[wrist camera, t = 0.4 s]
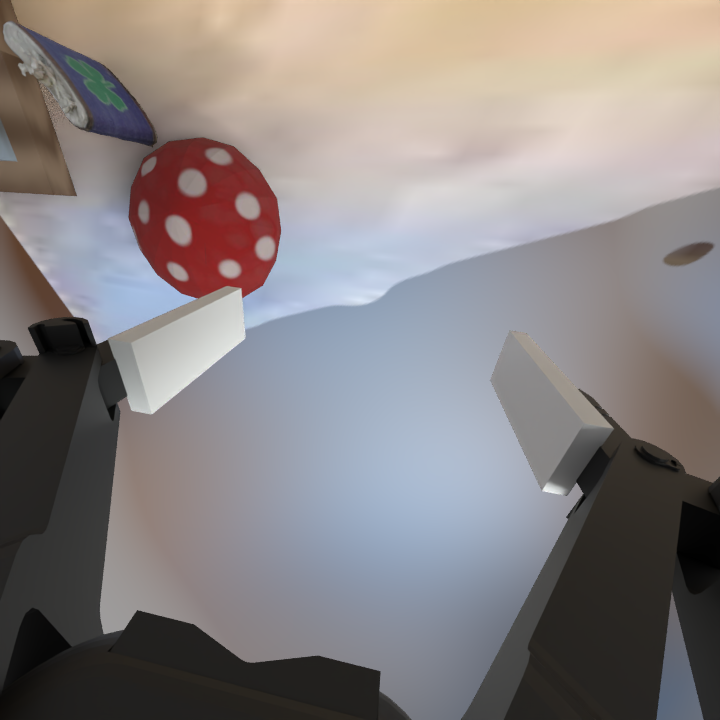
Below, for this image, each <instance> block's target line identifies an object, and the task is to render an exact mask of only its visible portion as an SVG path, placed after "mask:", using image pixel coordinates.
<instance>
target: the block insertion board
mask: <svg viewBox="0 0 720 720" xmlns="http://www.w3.org/2000/svg"><path fill="white" fill-rule="evenodd" d="M8 21H14V22H15V23H18V21H17V18H16V15H15V12H14V9H13V6H12V4H11V1H10V0H0V192H16V193H32V194H48V195H67V196H77V195H76V192H75V189H74V186H73V183H72V180H71V177H70V174H69V171H68V169H67V166H66V163H65V160H64V157H63V154H62V151H61V148H60V145H59V142H58V139H57V136H56V133H55V130H54V127H53V124H52V121H51V118H50V115H49V113H48V110H47V107H46V104H45V101H44V98H43V95H42V92H41V89H40V86H39V83H38V80H37V78H36V77H35V76H34V75H30V73H29V72H26V76H24V75H22V72H21V69H20V68H19V66H18V64H19V63H21V64H23V63H24V62H23V61H22V60H21V59H20V58H19V57H18V56H17V55H16V54H15V53H14V52H13V51H12V50H11V49H10V47H9V46H8V45H7V43H6V42H5V40H4V34H3V25H4V24H5V23H6V22H8Z"/></svg>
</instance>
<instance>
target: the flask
mask: <svg viewBox="0 0 720 720" xmlns="http://www.w3.org/2000/svg"><path fill="white" fill-rule="evenodd" d="M3 34H4V40H5V42H6V43H7V45H8V46H9V47H10V49H11V50H12V51H13V52H14V53H15V54H16V55H17V56H18V57H19V58H20V59H21V60H22V61H23V62H24V63H23V64H21V63H19V64H18V66H19V68H20V69H21V72H22V75H24V76H26V72H29V73H30V75H34V76H35V77H36V78H37V80H39V81H40V82H41V83H42V84H44V86H45V87H46V88H47V89H48V90H49V91H50V93H51V94H52V95H53V97H54V98H55V99H56V101H57V102H58V103H59V105H60V107H61V109H62V111H63V112H64V114H65V116H66V117H67V118H68V119H69V121H70V122H71V123H72V124H73V125H74V126H76V127H78V128H79V129H81V130H85V131H87V132H94V133H97V134H100V135H106V136H111V137H116V138H119V139H122V140H127V141H133V142H138V143H141V144H144V145H148V146H151V147H153V145H154V144H155V143H156V142H157V135H156V131H155V130H154V127H153V125H152V123H151V122H150V120H149V119H148V117H147V115H146V113H145V112H144V111H143V109H142V108H141V106H140V104H138V102H137V101H136V99H135V98H134V97H133V96H132V95H131V94H130V93H129V91H128V90H127V89H126V88H125V87H124V85H123V84H122V83H121V82H120V81H119V80H118V78H116V76H115V75H114V74H113V73H112V72H111V71H110V70H109V69H107V68H106V67H105V66H104V65H102V64H101V63H99V62H97V61H95V60H92V59H90V58H88V57H86V56H84V55H82V54H80V53H77V52H75V51H73V50H70V49H69V48H67V47H65V46H63V45H60V44H58V43H56V42H54V41H52V40H50V39H48V38H46V37H44V36H42V35H40V34H38V33H36V32H34V31H32V30H29V29H27V28H25V27H23V26H22V25H20V24H18V23H15V22H14V21H8V22H6V23H5V24H4V25H3Z"/></svg>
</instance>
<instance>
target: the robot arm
mask: <svg viewBox="0 0 720 720" xmlns="http://www.w3.org/2000/svg"><path fill="white" fill-rule="evenodd" d="M28 330H29V332H30V334H31V336H32V338H33V341H34V343H35V345H36V347H37V349H38V351H39V353H40V354H39V355H38V356H22V355H21V353H20V350H19V348H18V346H17V345H16V343H15V342H12V341H5V340H0V720H411V719H410V718H409V716H408V715H407V714H406V713H405V712H404V711H403V710H402V709H401V708H400V707H399V706H398V705H397V704H396V703H394V702H393V701H392V700H391V699H390V698H388V697H387V696H386V695H384V694H383V693H381V692H380V691H379V687H380V671H377V670H373V669H369V668H365V667H361V666H356V665H353V664H349V663H345V662H341V661H337V660H333V659H329V658H325V657H321V656H311V657H301V658H292V659H284V660H274V661H265V662H256V663H247V662H245V661H243V660H241V659H240V658H238V657H237V656H236V655H234V654H233V653H231V652H230V651H229V650H227V649H226V648H225V647H223V646H222V645H221V644H219V643H218V642H217V641H215V640H214V639H213V638H211V637H210V636H209V635H207V634H206V633H205V632H203V631H202V630H201V629H199V628H198V627H197V626H195V625H194V624H190V623H186V622H182V621H178V620H174V619H170V618H166V617H162V616H158V615H154V614H150V613H146V612H142V611H138V610H137V612H136V613H135V614H134V616H133V617H132V619H131V620H130V622H129V623H128V625H127V626H126V628H125V629H124V630H121V631H117V632H113V633H108V634H103V630H102V624H101V619H100V598H101V589H102V580H103V570H104V561H105V550H106V541H107V531H108V523H109V514H110V504H111V494H112V485H113V476H114V467H115V457H116V448H117V437H118V428H119V420H120V410H119V407H118V404H117V402H119V401H120V400H122V399H123V398H125V397H126V396H127V398H128V401H129V404H130V407H131V410H132V411H138V412H143V413H147V414H153V413H154V412H155V411H156V410H158V409H159V408H160V407H161V406H163V405H164V404H165V403H166V402H168V401H169V400H170V399H171V398H172V397H174V396H175V395H176V394H177V393H178V392H180V391H181V390H182V389H183V388H185V387H186V386H187V385H188V384H190V383H191V382H192V381H193V380H195V379H196V378H197V377H198V376H199V375H201V374H202V373H203V372H204V371H206V370H207V369H208V368H209V367H211V366H212V365H213V364H214V363H215V362H217V361H218V360H219V359H220V358H222V357H223V356H224V355H225V354H227V353H228V352H229V351H230V350H232V349H233V348H234V347H235V346H236V345H238V344H239V343H240V342H241V341H243V340H244V339H245V327H244V315H243V303H242V291H241V288H237V287H230V286H226V287H223V288H221V289H219V290H216V291H214V292H212V293H210V294H207V295H205V296H203V297H201V298H198V299H196V300H194V301H192V302H189V303H187V304H185V305H183V306H180V307H178V308H176V309H174V310H171V311H169V312H167V313H165V314H162V315H160V316H158V317H156V318H153V319H151V320H149V321H147V322H144V323H142V324H140V325H138V326H135V327H133V328H131V329H129V330H126V331H124V332H122V333H119V334H117V335H115V336H113V337H110V338H108V340H106V341H104V342H102V343H99V344H97V345H96V342H95V339H94V336H93V334H92V331H91V328H90V325H89V322H88V320H86V319H84V318H77V317H63V318H54V319H49V320H44V321H41V322H38V323H35V324H32V325H31V326H30V327H28ZM491 383H492V385H493V387H494V389H495V391H496V393H497V396H498V398H499V400H500V402H501V404H502V406H503V409H504V411H505V413H506V415H507V417H508V419H509V422H510V423H511V426H512V428H513V430H514V432H515V434H516V437H517V439H518V441H519V443H520V445H521V447H522V449H523V452H524V454H525V456H526V458H527V460H528V462H529V464H530V467H531V469H532V471H533V473H534V475H535V477H536V479H537V481H538V484H539V486H540V488H541V490H542V491H545V492H550V493H555V494H560V495H565V496H567V495H568V494H569V493H570V491H571V490H572V488H573V487H574V485H575V484H576V482H577V483H578V485H579V487H580V488H581V490H582V492H583V493H584V494H583V495H582V496H581V498H580V499H579V501H578V502H577V503H576V505H575V506H574V507H573V509H572V510H571V511H570V513H569V514H568V516H567V517H566V518H568V521H567V523H566V525H565V527H564V528H563V530H562V532H561V534H560V536H559V538H558V540H557V542H556V544H555V546H554V547H553V549H552V552H551V553H550V555H549V557H548V559H547V561H546V563H545V565H544V567H543V568H542V570H541V572H540V574H539V576H538V578H537V580H536V582H535V584H534V585H533V587H532V589H531V591H530V593H529V595H528V597H527V599H526V601H525V603H524V605H523V606H522V608H521V610H520V612H519V614H518V616H517V618H516V620H515V622H514V623H513V626H512V627H511V629H510V631H509V633H508V635H507V637H506V639H505V641H504V642H503V644H502V646H501V648H500V650H499V652H498V654H497V656H496V658H495V660H494V661H493V663H492V665H491V667H490V669H489V671H488V673H487V675H486V677H485V679H484V680H483V682H482V684H481V686H480V688H479V690H478V692H477V694H476V695H475V697H474V699H473V701H472V703H471V705H470V706H469V708H468V710H467V711H466V713H465V714H464V716H463V717H462V719H461V720H656V718H657V709H658V700H659V692H660V684H661V675H662V667H663V659H664V651H665V642H666V634H667V625H668V617H669V609H670V600H671V592H672V593H673V596H674V601H675V605H676V609H677V613H678V617H679V621H680V625H681V629H682V633H683V637H684V641H685V645H686V650H687V653H688V657H689V662H690V666H691V670H692V674H693V678H694V682H695V686H696V690H697V694H698V698H699V702H700V706H701V710H702V714H703V719H704V720H720V477H719V478H718V479H717V480H716V481H715V482H714V483H711V482H709V481H706V480H703V479H700V478H697V477H695V476H692V475H689V474H686V472H685V469H684V467H683V465H681V463H680V462H679V461H678V460H677V459H676V458H674V457H673V456H672V455H670V454H669V453H667V452H666V451H664V450H662V449H660V448H658V447H657V446H655V445H652V444H650V443H647V442H645V441H642V440H637V439H632V438H631V437H630V436H629V435H628V434H627V433H626V432H625V431H624V430H623V429H622V428H621V427H620V426H619V425H618V424H617V423H616V422H615V421H614V420H613V419H612V417H609V414H608V413H607V412H606V411H605V410H604V409H602V407H601V406H600V405H599V404H598V403H597V402H596V401H595V400H594V399H593V398H592V397H591V396H589V395H588V394H586V393H585V392H583V391H581V390H580V389H577V388H576V387H575V386H574V385H573V383H571V381H570V380H569V379H568V378H567V377H566V376H565V375H564V374H563V373H562V371H561V370H560V369H559V368H558V367H557V366H556V365H555V364H554V363H553V362H552V361H551V359H550V358H549V357H548V356H547V355H546V354H545V353H544V352H543V351H542V350H541V349H540V347H539V346H538V345H537V344H536V343H535V342H534V341H533V340H532V339H531V338H530V337H529V336H528V334H527V333H522V332H516V331H509V333H508V336H507V338H506V341H505V343H504V346H503V348H502V351H501V354H500V356H499V359H498V361H497V364H496V366H495V369H494V372H493V374H492V377H491Z"/></svg>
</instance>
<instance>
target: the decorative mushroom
mask: <svg viewBox="0 0 720 720" xmlns="http://www.w3.org/2000/svg"><path fill="white" fill-rule="evenodd" d="M129 221H130V223H131V226H132V229H133V232H134V234H135V237H136V240H137V243H138V246H139V248H140V250H141V252H142V253H143V255H144V256H145V257H146V259H147V260H148V262H149V263H150V265H151V266H152V268H153V269H154V271H155V272H156V274H157V275H158V276H160V277H161V278H162V279H164V280H165V281H166V282H167V283H169V284H170V285H171V286H173V287H174V288H175V289H176V290H178V291H179V292H180V293H182V294H185V295H188V296H191V297H195V298H201V297H203V296H205V295H207V294H210V293H212V292H214V291H216V290H219V289H221V288H223V287H226V286H230V287H237V288H241V291H242V298H243V297H245V296H246V295H248V294H250V293H251V292H253V291H255V290H256V289H258V288H259V287H261V286H263V284H264V282H265V280H266V279H267V277H268V275H269V273H270V271H271V269H272V267H273V265H274V263H275V261H276V257H277V252H278V246H279V240H280V235H281V226H280V218H279V211H278V203H277V198H276V196H275V195H274V193H273V191H272V190H271V188H270V186H269V185H268V183H267V182H266V180H265V178H264V177H263V175H262V173H261V172H260V170H259V169H258V168H257V167H256V166H255V165H254V164H252V163H251V162H250V161H249V160H248V159H247V158H246V157H245V156H244V155H243V154H242V153H240V152H239V151H238V150H237V149H236V148H235V147H234V146H230V145H227V144H224V143H220V142H217V141H213V140H210V139H206V138H194V139H186V140H177V141H169V142H167V143H166V144H164V145H163V146H161V147H160V148H159V149H157V150H156V151H154V152H153V153H151V154H150V155H148V156H147V157H145V158H144V159H143V161H142V164H141V166H140V168H139V170H138V173H137V175H136V177H135V179H134V182H133V184H132V186H131V194H130V207H129Z"/></svg>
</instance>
